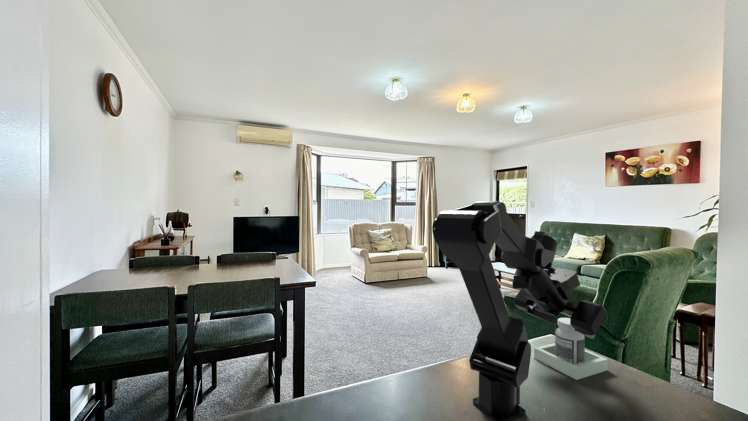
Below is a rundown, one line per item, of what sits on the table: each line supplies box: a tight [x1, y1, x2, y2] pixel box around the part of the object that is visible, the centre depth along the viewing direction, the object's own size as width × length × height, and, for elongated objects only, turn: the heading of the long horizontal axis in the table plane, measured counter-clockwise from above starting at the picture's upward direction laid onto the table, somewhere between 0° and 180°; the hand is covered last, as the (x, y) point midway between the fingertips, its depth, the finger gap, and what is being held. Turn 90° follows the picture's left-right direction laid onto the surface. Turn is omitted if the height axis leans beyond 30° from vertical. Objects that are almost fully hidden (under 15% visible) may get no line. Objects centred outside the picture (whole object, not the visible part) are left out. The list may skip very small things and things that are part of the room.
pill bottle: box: [554, 317, 586, 365], centre depth 72 cm, size 6×6×10 cm
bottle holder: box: [533, 342, 609, 381], centre depth 72 cm, size 10×10×2 cm
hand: (572, 329), depth 72 cm, fingers open, 9 cm apart
